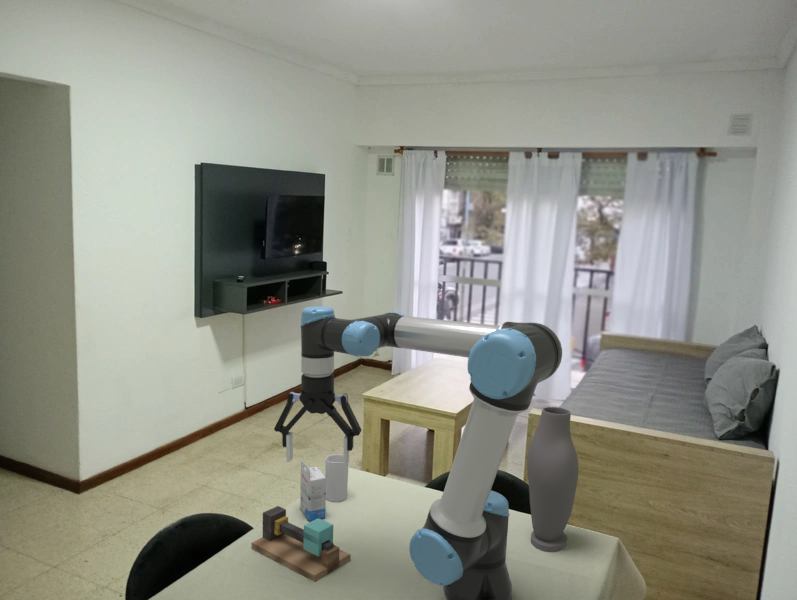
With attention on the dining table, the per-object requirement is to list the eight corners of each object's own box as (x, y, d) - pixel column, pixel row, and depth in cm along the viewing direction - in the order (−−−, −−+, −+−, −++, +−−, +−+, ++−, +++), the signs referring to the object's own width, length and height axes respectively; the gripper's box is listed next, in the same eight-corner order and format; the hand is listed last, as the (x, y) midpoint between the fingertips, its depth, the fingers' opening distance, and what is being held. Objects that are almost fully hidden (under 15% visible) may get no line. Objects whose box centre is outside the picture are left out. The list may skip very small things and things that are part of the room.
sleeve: (332, 548, 153) (333, 524, 152) (318, 556, 149) (318, 532, 148) (317, 541, 156) (318, 518, 155) (303, 549, 152) (303, 525, 151)
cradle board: (350, 560, 155) (351, 529, 154) (314, 581, 145) (315, 548, 144) (287, 529, 168) (287, 501, 167) (250, 547, 159) (250, 517, 158)
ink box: (326, 518, 175) (327, 467, 173) (308, 522, 173) (309, 469, 171) (316, 505, 183) (317, 455, 181) (299, 508, 181) (300, 458, 179)
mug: (346, 503, 185) (347, 463, 183) (322, 501, 185) (323, 462, 183) (350, 488, 195) (351, 450, 193) (328, 487, 195) (329, 449, 193)
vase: (571, 558, 159) (581, 421, 155) (518, 548, 163) (527, 414, 159) (574, 535, 171) (584, 407, 167) (525, 526, 175) (533, 401, 171)
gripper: (373, 371, 151) (372, 458, 153) (270, 367, 154) (271, 453, 156) (368, 379, 143) (367, 470, 146) (260, 375, 146) (261, 464, 149)
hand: (317, 461), depth 151 cm, fingers open, 13 cm apart
